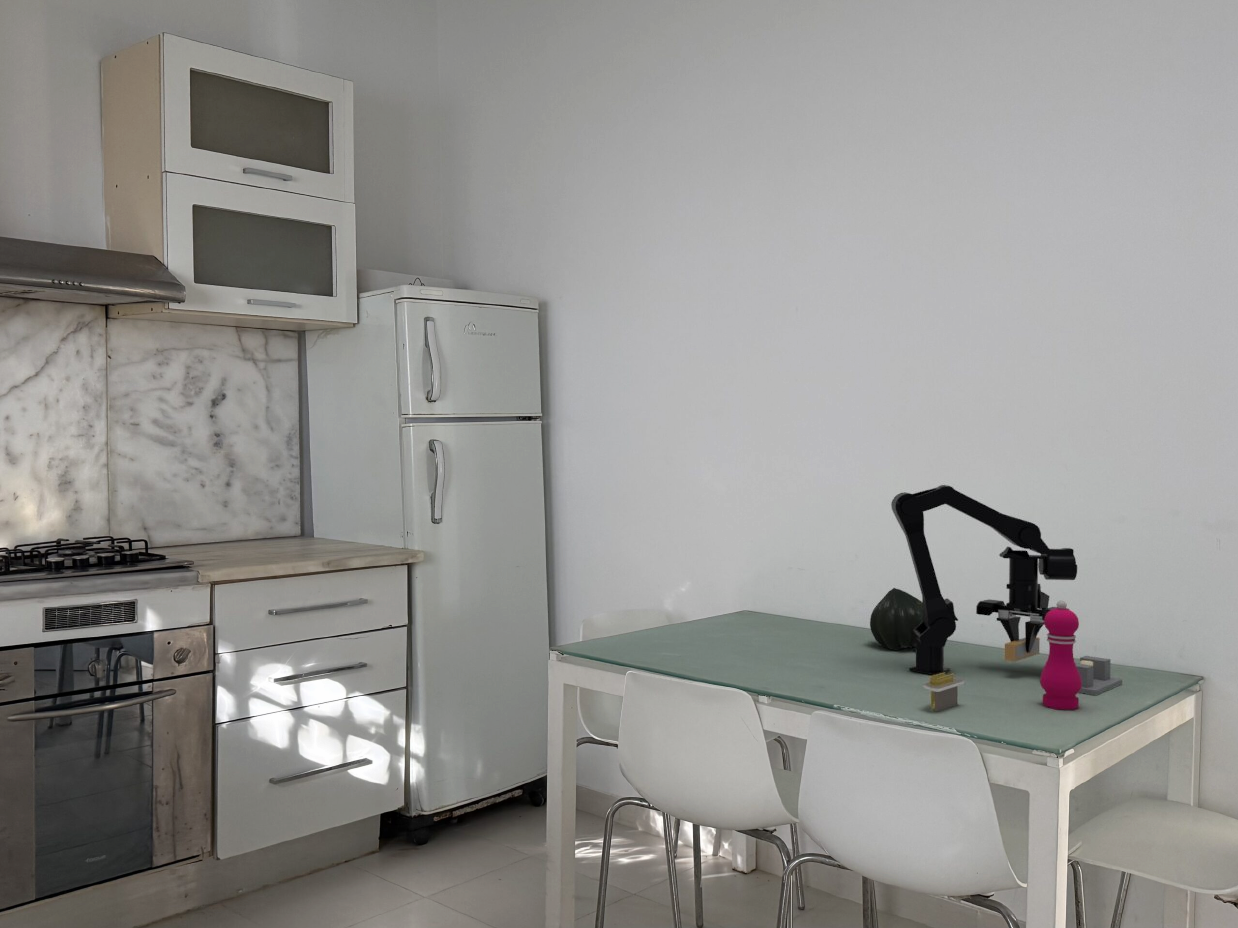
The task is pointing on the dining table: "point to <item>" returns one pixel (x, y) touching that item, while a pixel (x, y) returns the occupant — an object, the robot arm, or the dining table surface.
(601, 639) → the dining table surface
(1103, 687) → the display stand
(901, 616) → the squash
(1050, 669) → the pepper mill
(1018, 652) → the tan wooden bar
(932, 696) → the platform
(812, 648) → the dining table surface
